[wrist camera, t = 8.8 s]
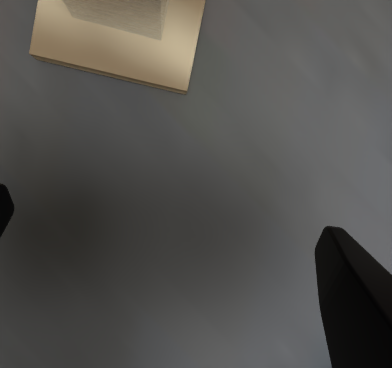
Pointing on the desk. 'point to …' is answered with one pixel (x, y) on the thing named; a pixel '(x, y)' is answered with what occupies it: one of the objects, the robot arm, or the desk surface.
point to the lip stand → (120, 45)
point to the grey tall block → (123, 14)
